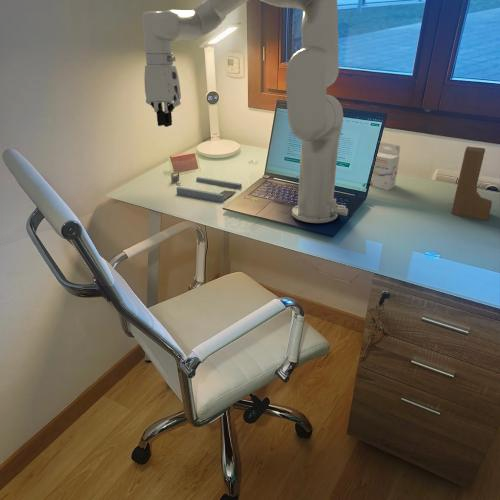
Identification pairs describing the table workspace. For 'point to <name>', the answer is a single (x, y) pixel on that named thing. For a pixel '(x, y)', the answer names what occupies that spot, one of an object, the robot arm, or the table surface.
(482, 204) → the wooden block
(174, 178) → the strap clip
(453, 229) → the table surface
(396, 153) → the ink cartridge box
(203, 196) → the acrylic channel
